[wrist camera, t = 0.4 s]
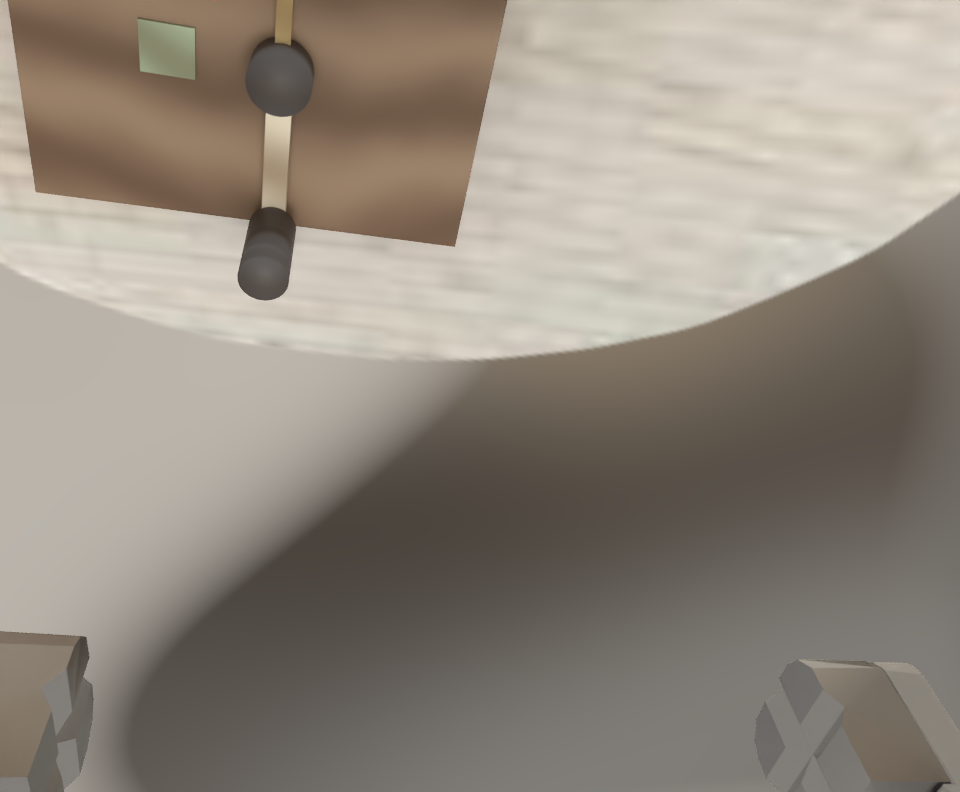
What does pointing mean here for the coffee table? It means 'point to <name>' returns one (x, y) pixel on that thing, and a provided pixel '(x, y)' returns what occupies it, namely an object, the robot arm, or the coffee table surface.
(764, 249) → the coffee table surface
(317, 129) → the board
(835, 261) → the coffee table surface
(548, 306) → the coffee table surface
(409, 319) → the coffee table surface
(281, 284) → the tuning crank
